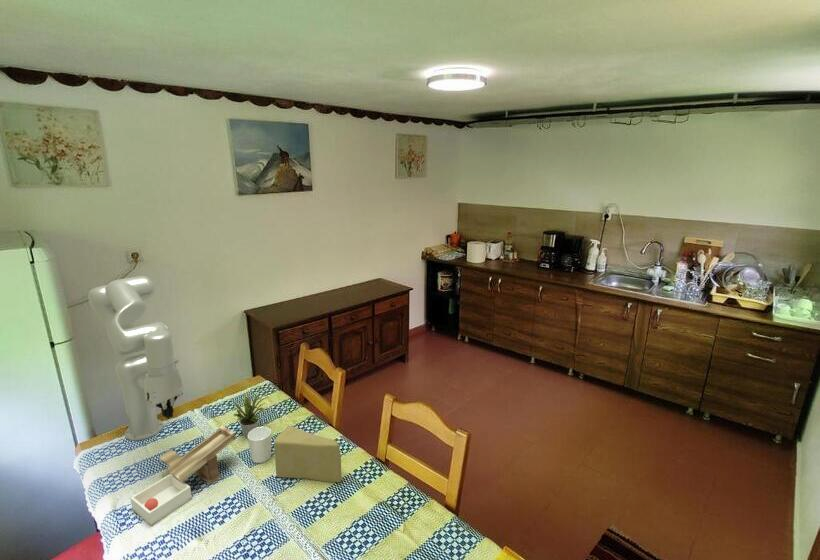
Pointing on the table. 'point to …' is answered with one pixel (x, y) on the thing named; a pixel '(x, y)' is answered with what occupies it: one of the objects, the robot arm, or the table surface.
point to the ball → (151, 504)
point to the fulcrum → (209, 470)
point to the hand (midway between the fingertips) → (168, 416)
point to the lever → (197, 454)
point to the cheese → (307, 456)
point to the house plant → (248, 415)
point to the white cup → (260, 444)
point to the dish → (161, 498)
